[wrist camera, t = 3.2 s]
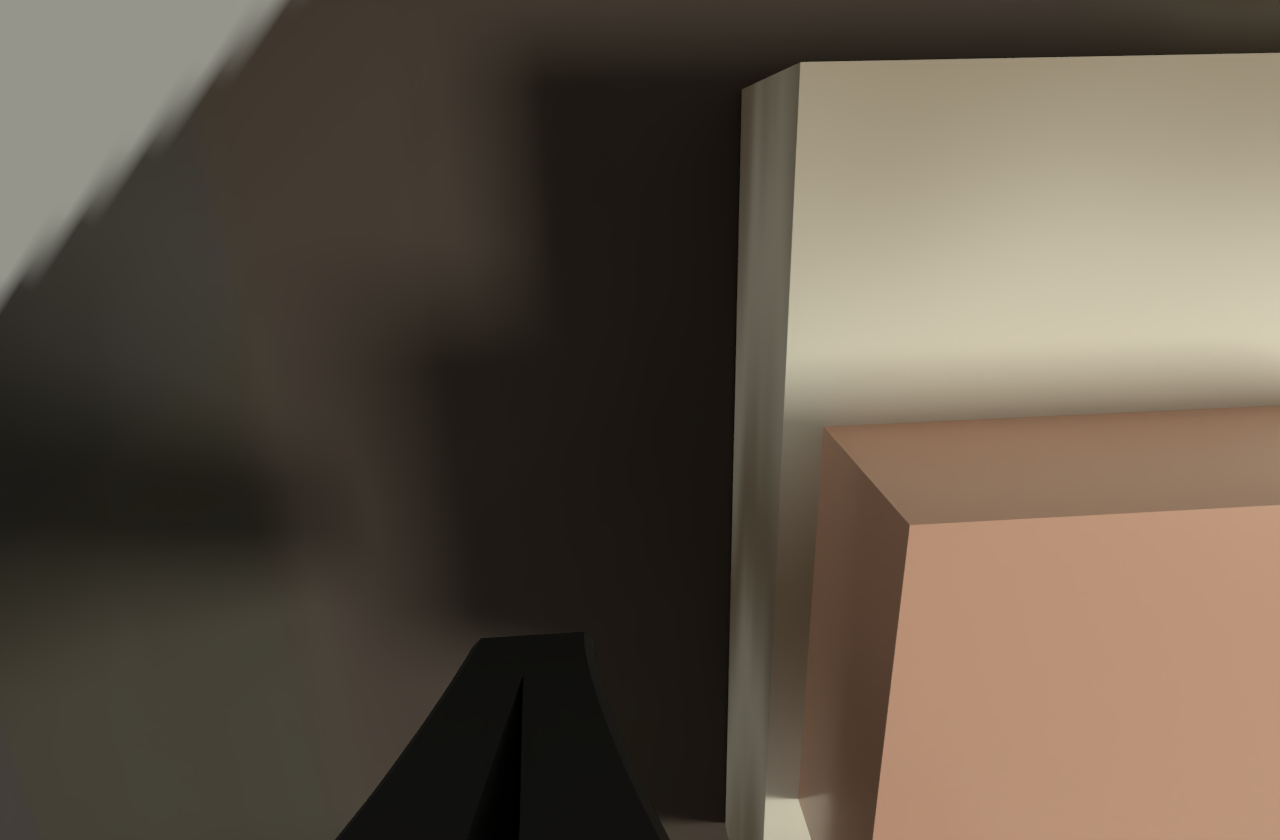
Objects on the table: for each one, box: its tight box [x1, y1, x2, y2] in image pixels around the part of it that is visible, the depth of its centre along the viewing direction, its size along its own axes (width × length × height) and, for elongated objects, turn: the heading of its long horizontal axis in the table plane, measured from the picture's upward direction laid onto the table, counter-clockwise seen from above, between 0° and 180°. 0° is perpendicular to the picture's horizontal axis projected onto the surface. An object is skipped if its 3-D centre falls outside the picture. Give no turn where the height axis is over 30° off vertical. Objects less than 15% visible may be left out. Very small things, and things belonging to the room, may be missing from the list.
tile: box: [798, 405, 1280, 840], centre depth 9 cm, size 6×8×2 cm
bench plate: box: [725, 53, 1280, 840], centre depth 11 cm, size 14×9×3 cm, turn 1°
